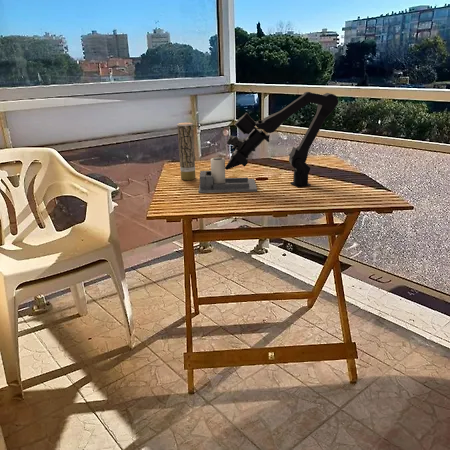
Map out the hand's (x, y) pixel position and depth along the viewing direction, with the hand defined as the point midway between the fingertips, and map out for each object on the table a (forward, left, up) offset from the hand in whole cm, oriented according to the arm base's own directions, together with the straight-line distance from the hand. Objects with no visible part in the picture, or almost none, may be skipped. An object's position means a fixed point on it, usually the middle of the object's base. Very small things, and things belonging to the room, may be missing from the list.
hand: (225, 169), depth 168 cm
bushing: (+1, +3, -7) cm, 7 cm away
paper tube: (+20, +10, -8) cm, 24 cm away
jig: (0, -1, -8) cm, 8 cm away
